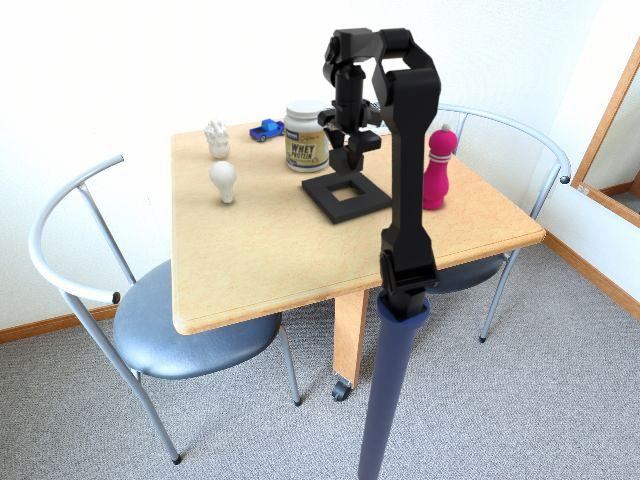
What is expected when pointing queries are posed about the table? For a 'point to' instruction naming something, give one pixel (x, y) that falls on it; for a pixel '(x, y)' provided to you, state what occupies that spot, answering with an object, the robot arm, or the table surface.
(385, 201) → the socket pad
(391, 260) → the robot arm
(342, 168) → the small pad
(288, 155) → the supplement tub
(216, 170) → the lightbulb
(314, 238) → the table surface
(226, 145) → the figurine
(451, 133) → the pepper mill
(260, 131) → the toy car
